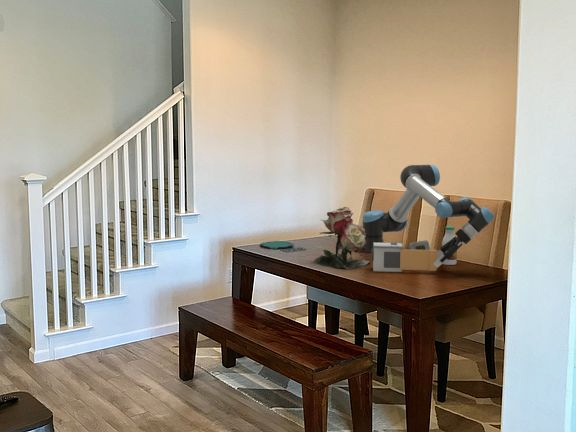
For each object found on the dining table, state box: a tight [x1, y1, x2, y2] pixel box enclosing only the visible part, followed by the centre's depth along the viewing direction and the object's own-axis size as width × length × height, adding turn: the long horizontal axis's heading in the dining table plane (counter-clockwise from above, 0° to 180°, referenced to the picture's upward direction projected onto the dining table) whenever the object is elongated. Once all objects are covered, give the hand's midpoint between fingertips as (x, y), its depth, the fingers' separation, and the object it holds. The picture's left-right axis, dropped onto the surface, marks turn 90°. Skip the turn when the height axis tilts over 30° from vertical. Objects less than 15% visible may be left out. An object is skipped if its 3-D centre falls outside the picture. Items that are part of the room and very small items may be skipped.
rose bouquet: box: [312, 206, 370, 270], centre depth 318 cm, size 26×29×30 cm
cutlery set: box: [259, 240, 307, 253], centre depth 366 cm, size 20×30×2 cm, turn 35°
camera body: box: [370, 241, 404, 273], centre depth 303 cm, size 15×11×14 cm
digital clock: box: [408, 240, 431, 250], centre depth 326 cm, size 16×9×11 cm, turn 120°
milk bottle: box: [441, 225, 458, 266], centre depth 318 cm, size 8×8×20 cm
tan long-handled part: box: [400, 248, 438, 272], centre depth 296 cm, size 18×3×10 cm, turn 83°
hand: (433, 263), depth 295 cm, fingers open, 13 cm apart
